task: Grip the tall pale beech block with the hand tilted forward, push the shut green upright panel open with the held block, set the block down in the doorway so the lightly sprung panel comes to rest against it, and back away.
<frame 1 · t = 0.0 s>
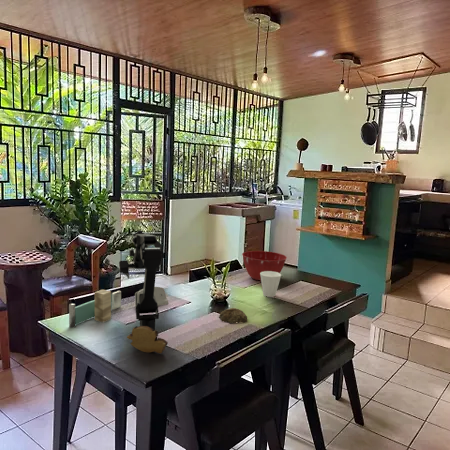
hand: (138, 277, 200), 15 cm above the table, tool tilted 35°, fingers open, 9 cm apart
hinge: (150, 305, 207), on the table
mixing bowl: (263, 278, 264), on the table
green upright panel: (94, 308, 185), point 4 cm above the table, hinge at 0.0°
brown dome mound: (232, 319, 193), on the table
cup: (269, 295, 230), on the table
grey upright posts: (72, 326, 175), on the table
wooden carving: (146, 351, 156), on the table
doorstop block: (102, 319, 184), on the table
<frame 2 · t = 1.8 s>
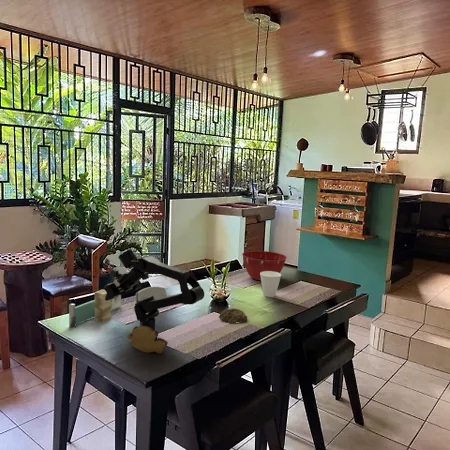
hand: (113, 297, 180), 12 cm above the table, tool tilted 45°, fingers open, 9 cm apart
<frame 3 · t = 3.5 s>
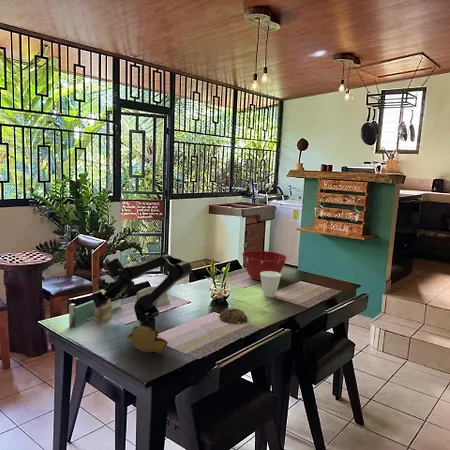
hand: (100, 304, 184), 7 cm above the table, tool tilted 45°, fingers closed on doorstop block, 5 cm apart
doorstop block: (102, 319, 184), on the table, touching gripper
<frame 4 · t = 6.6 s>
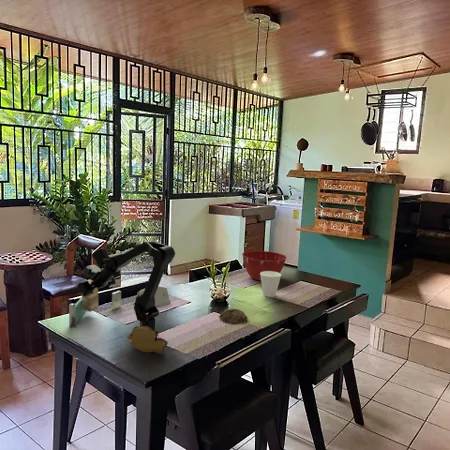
hand: (87, 294, 187), 10 cm above the table, tool tilted 45°, fingers closed on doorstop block, 5 cm apart
green upright panel: (82, 307, 187), point 4 cm above the table, hinge at 29.1°
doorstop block: (90, 309, 187), point 3 cm above the table, touching gripper
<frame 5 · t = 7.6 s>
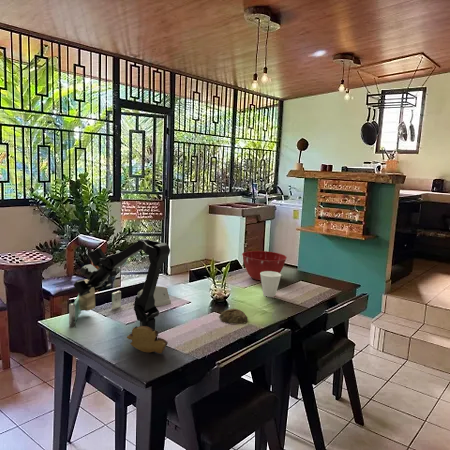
hand: (84, 293, 188), 10 cm above the table, tool tilted 45°, fingers closed on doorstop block, 5 cm apart
green upright panel: (78, 306, 187), point 4 cm above the table, hinge at 37.0°
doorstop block: (87, 308, 188), point 3 cm above the table, touching gripper
when the fingers open (7 cm above the table, at t = 9.0 s): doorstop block stays where it is, on the table.
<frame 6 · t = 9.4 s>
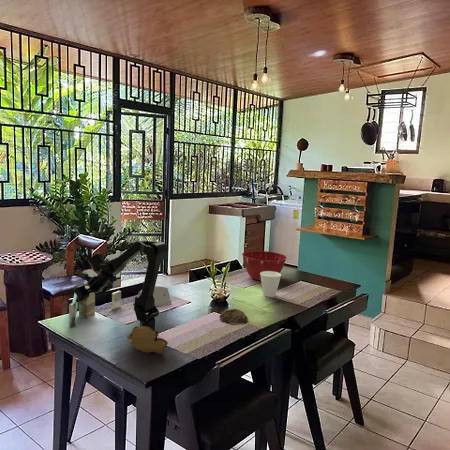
hand: (84, 298, 188), 8 cm above the table, tool tilted 45°, fingers open, 9 cm apart
green upright panel: (75, 307, 186), point 4 cm above the table, hinge at 42.7°
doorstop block: (86, 315, 188), on the table
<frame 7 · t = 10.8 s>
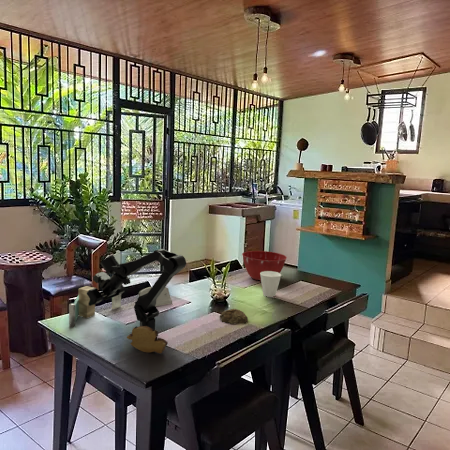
hand: (96, 302, 185), 8 cm above the table, tool tilted 45°, fingers open, 9 cm apart
green upright panel: (78, 306, 187), point 4 cm above the table, hinge at 36.9°
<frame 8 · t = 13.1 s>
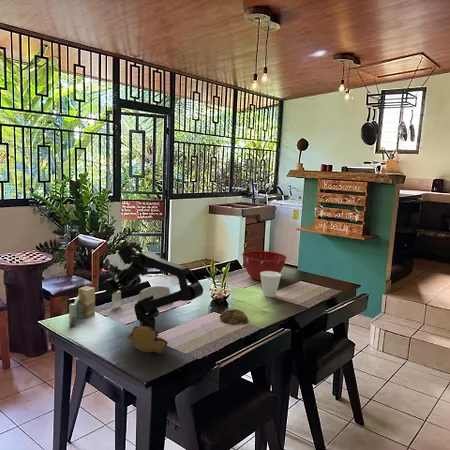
hand: (112, 292, 180), 14 cm above the table, tool tilted 45°, fingers open, 9 cm apart
at the end: green upright panel at +37° (first picture: +0°); the gripper is holding nothing; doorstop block tilted 0° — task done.
